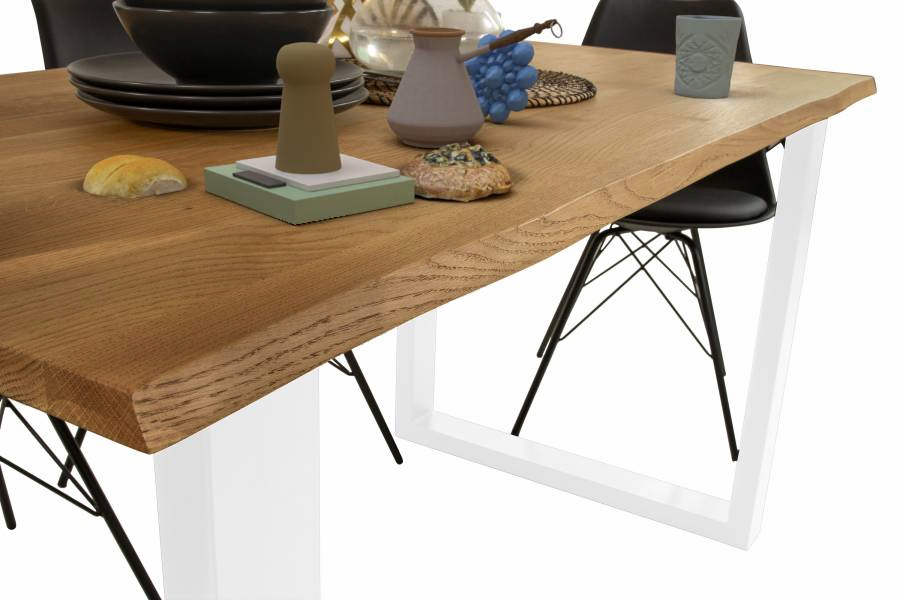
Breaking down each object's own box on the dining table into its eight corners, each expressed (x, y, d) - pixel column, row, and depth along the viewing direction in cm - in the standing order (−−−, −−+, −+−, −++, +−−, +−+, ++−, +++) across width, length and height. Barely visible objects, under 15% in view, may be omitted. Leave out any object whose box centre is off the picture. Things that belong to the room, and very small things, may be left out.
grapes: (552, 124, 132) (558, 30, 128) (523, 131, 127) (528, 33, 123) (481, 113, 139) (484, 23, 135) (451, 119, 134) (453, 26, 129)
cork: (352, 170, 91) (351, 45, 87) (289, 176, 88) (285, 47, 84) (326, 157, 96) (324, 38, 92) (265, 163, 93) (260, 40, 89)
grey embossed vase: (690, 99, 155) (698, 19, 151) (656, 90, 164) (663, 14, 160) (746, 97, 158) (755, 19, 154) (710, 88, 167) (718, 14, 163)
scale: (295, 226, 84) (294, 193, 83) (204, 190, 94) (203, 161, 93) (414, 202, 92) (415, 172, 91) (319, 172, 102) (318, 145, 101)
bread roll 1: (143, 184, 96) (140, 142, 95) (201, 201, 91) (199, 157, 89) (64, 199, 90) (59, 154, 89) (121, 218, 85) (117, 171, 83)
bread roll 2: (441, 167, 104) (446, 121, 102) (532, 199, 99) (539, 150, 97) (373, 191, 96) (377, 141, 94) (468, 227, 91) (476, 174, 88)
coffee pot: (366, 143, 117) (366, 9, 112) (422, 129, 126) (424, 5, 121) (527, 168, 106) (534, 22, 101) (575, 151, 115) (584, 16, 110)
